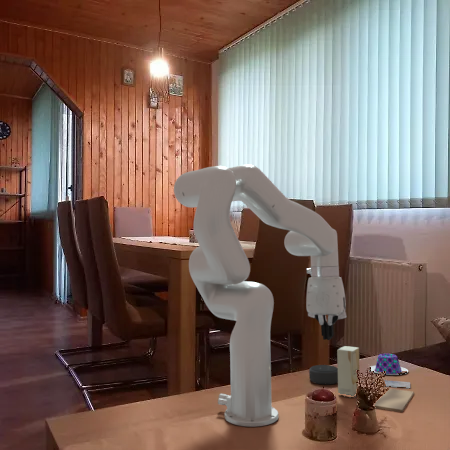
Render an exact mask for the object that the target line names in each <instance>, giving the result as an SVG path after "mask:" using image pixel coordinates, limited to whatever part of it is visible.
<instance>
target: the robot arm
mask: <svg viewBox="0 0 450 450" xmlns="http://www.w3.org/2000/svg"><path fill="white" fill-rule="evenodd" d="M173 193H174V197H175V199H176V200H177V201H178V203H180V205H183V206H184V207H186V208H196V209H195V213H194V218H193V234H194V237H195V239H196V241H197V243H198V245H199V246H196V248H194V249H193V250H192V252H191V253H190V255H189V259H188V272H189V275H190V277H191V279H192V281H193V283H194V285H195V287H196V288H197V291H198V292H199V294H200V295H201V298H202V300H203V301H204V303H205V305H206V307H207V308H208V310H209V311H210V312H211V313H212V314H213V315H214V316H215V317H217V318H219V319H223V320H224V319H225V320H230V321H235V325H234V326H233V329H232V331H231V334H230V339H229V352H230V353H229V354H230V355H229V357H230V358H229V359H230V360H229V361H230V365H229V367H230V369H229V370H230V395H229V394H225V393H219V394H218V399H217V404H218V405H220V406H226V409H225V411H224V419H225V421H226V422H228V423H230V424H233V425H235V426H240V427H248V428H249V427H263V426H268V425H270V424H273V423H275V422H277V421H278V419H279V411H278V410H277V409H276V408H275V407H273V406H272V405H273V403H272V371H271V370H272V364H271V363H272V362H271V359H272V358H271V328H272V327H271V326H272V318H273V312H274V304H275V302H274V301H275V300H274V296H273V293H272V291H271V290H270V289H269V288H268V287H267V286H266V285H265V284H263V283H259V282H255V281H247V279H248V278H249V276H250V272H251V265H250V261H249V258H248V257H247V255H246V253H245V250H244V248H243V245H242V244H241V241H240V240H239V238H238V236H237V234H236V232H235V230H234V228H233V226H232V222H231V216H230V215H231V214H230V212H231V206H232V203H233V202H238V201H239V202H242V203H243V204H244V205H245V206H246V207H247V208H248V209H249V210H250V211H252V213H253V214H254V215H255V216H257V217H258V218H259V219H260V221H262V222H263V223H264V224H266V225H268V226H271V227H274V228H277V229H281V230H286V231H288V232H287V234H286V235H285V237H284V242H283V243H284V247H285V249H286V251H287V252H288V253H289V254H291V255H293V256H295V257H296V256H297V257H310V267H309V268H306V274H309V275H310V276H311V277H308V280H307V286H306V299H305V300H306V302H305V303H306V306H305V307H306V312H307V317H308V318H309V317H310V318H313V319H316V322H318V323H319V325H320V327H321V329H320V330H321V336H322V339H323V341H324V340H327V341H330V340H331V339H333V337H334V335H335V332H334V331H335V330H334V325H335V324H336V322H337V321H338V320H343V319H345V318H347V312H346V310H347V309H346V308H347V306H346V305H347V304H346V302H347V301H346V294H345V288H344V283H343V279H342V276H341V277H340V270H339V269H340V266H339V249H338V248H339V246H338V243H339V242H338V233H337V232H338V231H337V230H336V229H334V228H333V227H331V226H330V224H329V223H328V221H326V220H325V219H324V217H322V216H321V215H320V214H319V213H317V212H316V211H315V210H312V209H310V208H308V207H306V206H304V205H303V204H300V203H298V202H296V201H293V200H291V199H289V198H288V197H287V196H286V195H285V194H284V193H283V192H282V191H281V190H280V189H279V188H278V186H276V184H274V183H273V181H272V180H270V178H269V177H268V176H267V175H266V174H265V173H264V172H263V171H262V170H261V169H260V168H259V167H257V165H253V164H241V165H236V166H231V167H227V166H222V165H215V166H208V167H204V168H200V169H196V170H190V171H187V172H183V173H182V174H181V175H179V176H178V177H177V178H176V181H175V183H174V185H173ZM326 315H327V316H328V317H327V316H326Z"/></svg>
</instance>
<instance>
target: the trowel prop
mask: <svg viewBox="0 0 450 450" xmlns="http://www.w3.org/2000/svg"><path fill="white" fill-rule="evenodd" d="M373 377H374V378H376V377H377V376H373ZM383 380H384V379H383ZM384 381H385V384H386V387H385V388H397V387H406V388H405V389H409V388H410V389H411V382H410V381H399V380H386V379H385V380H384ZM389 386H391V387H389Z"/></svg>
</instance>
